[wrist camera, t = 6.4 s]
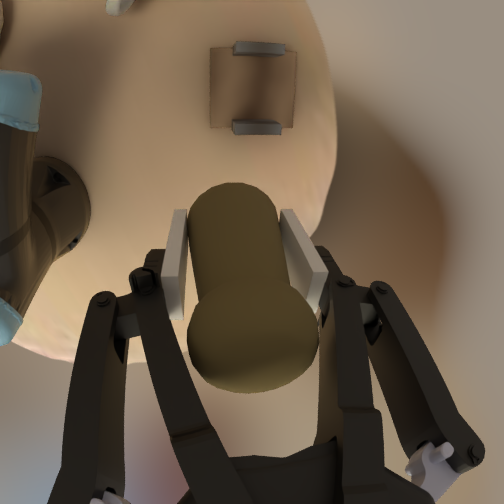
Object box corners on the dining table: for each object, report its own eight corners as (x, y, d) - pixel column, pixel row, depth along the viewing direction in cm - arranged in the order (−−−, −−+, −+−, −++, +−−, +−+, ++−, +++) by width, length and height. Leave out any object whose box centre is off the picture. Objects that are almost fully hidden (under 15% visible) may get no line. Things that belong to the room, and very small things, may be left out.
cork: (167, 227, 18) (141, 379, 9) (234, 162, 16) (274, 287, 7) (231, 276, 21) (252, 418, 12) (295, 225, 19) (365, 359, 10)
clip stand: (210, 128, 31) (211, 135, 27) (210, 48, 26) (211, 41, 21) (289, 128, 33) (302, 135, 29) (293, 51, 27) (308, 47, 23)
